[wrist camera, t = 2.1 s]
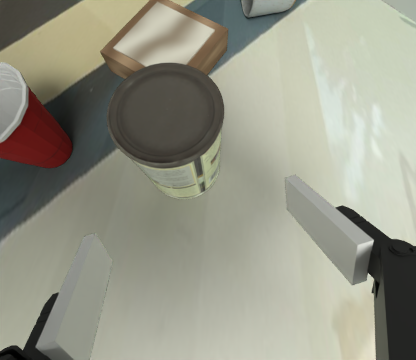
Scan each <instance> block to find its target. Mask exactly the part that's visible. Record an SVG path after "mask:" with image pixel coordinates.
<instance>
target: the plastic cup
mask: <svg viewBox="0 0 416 360" xmlns="http://www.w3.org/2000/svg"><path fill="white" fill-rule="evenodd" d="M71 152H72V142H71V141H70V139H69V137H68V135H67V134H66V133H65V132H64V130H63V129H62V128H61V127H60V125H59V123H58V122H57V121H56V120H55V119H54V118H53V116H52V115H51V114H50V113H49V112H48V111H47V109H46V108H45V107H44V106H43V105H42V104H41V102H40V101H39V100H38V99H37V97H36V95H35V94H34V93H33V92H32V91H31V90H30V88H29V87H28V86H27V84H26V82H25V80H24V78H23V76H22V74H21V73H20V72H19V71H18V70H16V69H15V68H13V67H12V66H10V65H9V64H7V63H3V62H0V158H3V159H7V160H11V161H16V162H20V163H25V164H30V165H35V166H39V167H44V168H54V167H58V166H60V165H62V164H63V163H65V162H66V161H67V159H68V158H69V157H70V155H71Z"/></svg>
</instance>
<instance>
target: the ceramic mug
mask: <svg viewBox="0 0 416 360" xmlns="http://www.w3.org/2000/svg"><path fill="white" fill-rule="evenodd" d="M295 1H296V0H241V3H242V8H243V12H244V14H245V16H246V17H248V18H249V17H254V16H261V15H266V14H272V13H278V12H283V11H285V10H288V9H290V8H291V7H292V6H293V4H294V3H295Z"/></svg>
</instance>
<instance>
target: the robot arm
mask: <svg viewBox="0 0 416 360" xmlns="http://www.w3.org/2000/svg"><path fill="white" fill-rule="evenodd" d="M285 189H286V205H287V210H288V211H289V213H290V214H291V215H292V216H293V217H294V218H295V220H296V221H297V222H298V223H299V224H300V225H301V227H302V228H303V229H304V230H305V231H306V232H307V234H308V235H309V236H310V237H311V238H312V239H313V241H314V242H315V243H316V244H317V245H318V246H319V248H320V249H321V250H322V251H323V252H324V253H325V254H326V256H327V257H328V258H329V259H330V260H331V261H332V263H333V264H334V265H335V266H336V267H337V268H338V270H339V271H340V272H341V273H342V274H343V275H344V277H345V278H346V279H347V280H348V281H349V282H350V284H351V285H355V284H358V283H361V282H364V281H366V280H367V275H368V273H369V274H370V275H371V276H372V277H373V278H374V283H373V288H372V293H374V312H375V343H376V360H416V246H413V245H411V244H409V243H407V242H405V241H402V240H398V239H390V238H389V237H388V236H386V235H385V234H384V233H383V232H381V231H380V230H379V229H377V228H376V227H375V226H373V225H372V224H371V223H369V222H368V221H366V219H364V218H363V217H362V216H360V215H359V214H358V213H356V212H355V211H354V210H352V209H350V208H348V207H345V206H339V207H336V208H335V207H333V206H332V205H331V204H330V203H329V202H327V201H326V200H325V199H324V198H323V197H321V196H320V195H319V194H318V193H317V192H315V191H314V190H313V189H312V188H311V187H309V186H308V185H307V184H306V183H305V182H303V181H302V180H301V179H300V178H299V177H297V176H296V175H293V176H289V177H286V178H285ZM112 264H113V261H112V259H111V257H110V256H109V254H108V253H107V251H106V249H105V248H104V246H103V244H102V243H101V241H100V239H99V238H98V236H97V234H96V233H94V234H90V235H87V236H84V238H83V240H82V242H81V244H80V247H79V249H78V251H77V254H76V256H75V258H74V260H73V263H72V265H71V267H70V269H69V272H68V274H67V276H66V279H65V281H64V283H63V285H62V288H61V290H60V292H58V293H55V294H53V295H52V296H51V297H50V298H49V300H48V301H47V302H46V303H45V305H44V307H43V309H42V311H41V313H40V316H39V318H38V320H37V322H36V325H35V326H34V328H33V330H32V332H31V334H30V336H29V339H28V341H27V343H26V345H25V347H24V349H23V350H22V349H20V348H19V347H18V346H9V347H7V348H5V349H3V350H2V351H0V360H90V357H91V353H92V349H93V344H94V340H95V336H96V332H97V328H98V323H99V319H100V315H101V311H102V306H103V302H104V298H105V294H106V290H107V285H108V281H109V277H110V273H111V268H112Z"/></svg>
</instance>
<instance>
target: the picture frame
mask: <svg viewBox="0 0 416 360" xmlns="http://www.w3.org/2000/svg"><path fill="white" fill-rule="evenodd" d="M227 39H228V29H227V28H225V27H223V26H221V25H219V24H217V23H215V22H213V21H211V20H209V19H207V18H205V17H202V16H200V15H198V14H196V13H194V12H192V11H190V10H188V9H186V8H184V7H182V6H180V5H178V4H176V3H174V2H172V1H169V0H150V1H149V2H148V3H147V4H146V5H145V6H144V7H143V8H142V9H141V10H140V11H139V12H138V13H137V14H136V15H135V16H134V17H133V18H132V19H131V20H130V21H129V22H128V23H127V24H126V25H125V26H124V27H123V28H122V29H121V30H120V31H119V32H118V34H117V35H116V36H115V37H114V38H113V39H112V40H111V41H110V42H109V43H108V44H107V45H106V46H105V47H104V48H103V49H102V50H101V51H100V53H101V54H102V56H103V58H104V59H105V61H106V63H107V65H108V66H109V68H110V70H111V71H112V72H114V73H115V74H117V75H119V76H120V77H122V78H124V79H126V78H127V77H128V76H130V75H131V74H133V73H134V72H136V71H138V70H140V69H142V68H144V67H147V66H150V65H153V64H159V63H180V64H185V65H189V66H191V67H194V68H196V69H198V70H200V71H201V72H203V73H204V74H206V75H208V73H209V72H210V71H211V70H212V68H213V67H214V66H215V64H216V63H217V62H218V61H219V59H220V58H221V57H222V56H223V54H224V53H225V52H226V51H227Z"/></svg>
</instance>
